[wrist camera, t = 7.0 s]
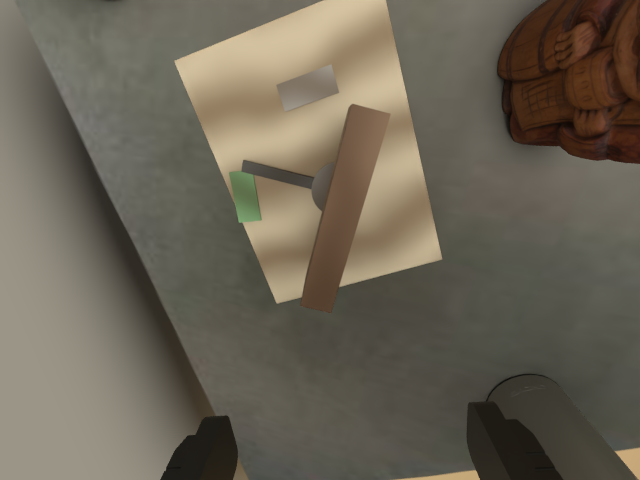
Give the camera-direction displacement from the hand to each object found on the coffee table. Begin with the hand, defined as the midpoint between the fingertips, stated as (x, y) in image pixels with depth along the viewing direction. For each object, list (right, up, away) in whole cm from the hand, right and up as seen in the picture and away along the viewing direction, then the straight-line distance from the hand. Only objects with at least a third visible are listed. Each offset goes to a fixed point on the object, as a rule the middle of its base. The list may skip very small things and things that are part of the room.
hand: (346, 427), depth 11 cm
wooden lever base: (-1, +14, +21) cm, 25 cm away
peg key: (-2, +11, +16) cm, 19 cm away
